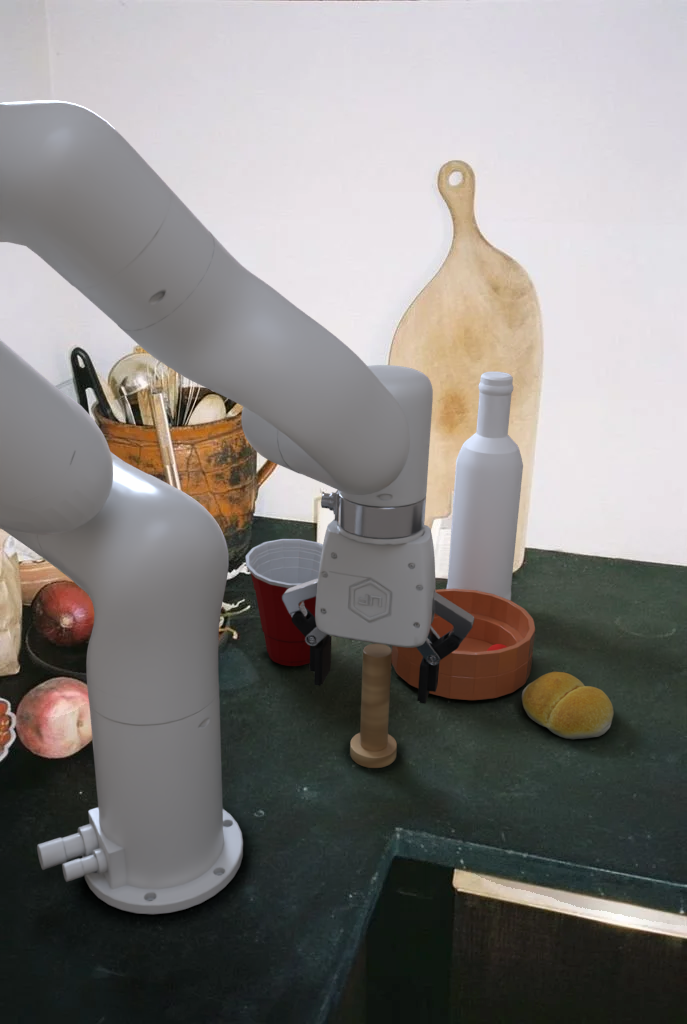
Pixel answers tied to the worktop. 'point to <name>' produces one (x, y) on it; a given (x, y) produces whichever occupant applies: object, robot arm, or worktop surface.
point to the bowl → (478, 649)
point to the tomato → (496, 647)
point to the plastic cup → (271, 577)
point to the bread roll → (567, 706)
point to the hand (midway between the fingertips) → (372, 686)
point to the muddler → (375, 711)
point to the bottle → (486, 496)
